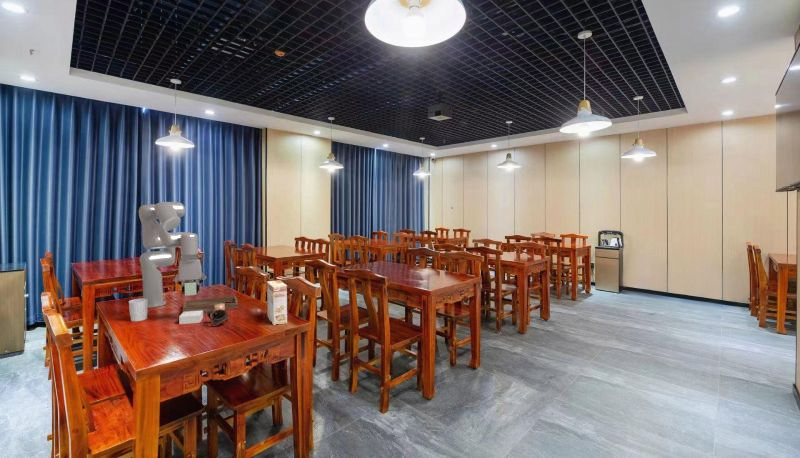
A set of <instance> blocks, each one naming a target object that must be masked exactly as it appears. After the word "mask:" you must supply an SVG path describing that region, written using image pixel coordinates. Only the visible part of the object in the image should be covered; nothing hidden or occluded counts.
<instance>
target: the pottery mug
mask: <svg viewBox="0 0 800 458" xmlns="http://www.w3.org/2000/svg"><path fill="white" fill-rule="evenodd" d="M206 313H207V314H206V315H207V317H208V318H209V321H210V326H211V327H214V326H217V325H220V324H223V323H225V322H229V317H228V316H230V314H229V313H228V312H227V310H223V309H218V310H215V311H209V312H206ZM215 313H217V314H215Z"/></svg>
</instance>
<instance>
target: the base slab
mask: <svg viewBox="0 0 800 458" xmlns="http://www.w3.org/2000/svg"><path fill="white" fill-rule="evenodd" d="M203 318H204V313H203V310H201V311H188V312H183V311H182V313H181V314H180V315H179V317H178V322H179V325H186V324H197V323H201V322H202V320H203Z"/></svg>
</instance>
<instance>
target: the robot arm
mask: <svg viewBox="0 0 800 458" xmlns="http://www.w3.org/2000/svg"><path fill="white" fill-rule="evenodd" d="M185 214H186V207H185V205H184V204H183V203H182V202H179V201H161V202H158V203H156V204H155V203H154V204H150V203H149V204H143V205H141V206H140V207H139V209H138V216H139V217H138V218H139V220H140V222H141V226H142V246H143V248H144V249H146V250H153V251H146V252H144V253H142V254H141V255H140V256H139V264H140V267H141V276H142V297H143V298H145V299H148V308H147V309H149V308H151V309H152V308H157V307H163V306H165V305H167V301H166V300H164V292H163V290H164V289H163V288H164V287H163V274H162V272H161V271H160V270H159V269H158V268H162V267H169V266H173V265H174V264H175V262H176V248H179V247H180V260H179V263H178V274H177V275H176V276H175V277H174V279H173V280H172V281H173V282H175V283H177V284H178V285H180V287H181V293H183V295H185V282H187V281H196V293H197V294H199V292H200V285H201V284H202V283H203V282H205V280H206V279H207V278H208V277H207V276H206V275H205V274H204V272H203V271H202V263H201V259H199V258H202V254H199V243H198V242H199V237H198V234H197V233H194V232H190V231H179V232H170V231H172V230H175V229H176V228H178V227H179V226H180V224H181V218H182V217H184V216H185ZM158 220H159V221H160V223H159V221H158ZM160 249H161V250H160ZM155 250H156V251H155Z"/></svg>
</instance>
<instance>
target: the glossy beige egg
mask: <svg viewBox="0 0 800 458" xmlns="http://www.w3.org/2000/svg"><path fill="white" fill-rule="evenodd" d="M225 304H226V303H219V304H213V305H214V311H215V310H218V309H223V310H225ZM225 311H226V310H225ZM215 314H217V313H215Z"/></svg>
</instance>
